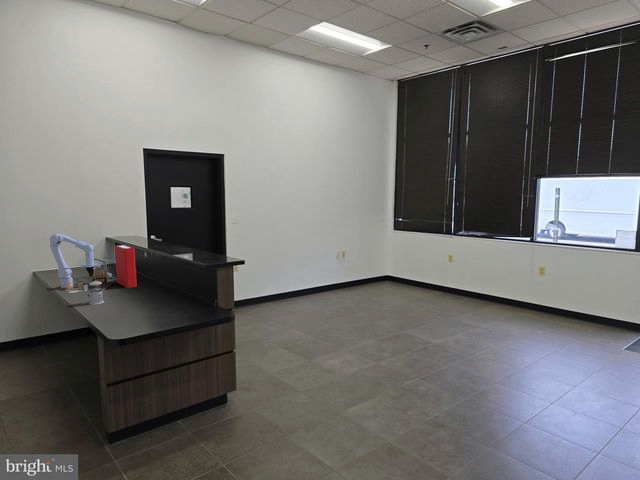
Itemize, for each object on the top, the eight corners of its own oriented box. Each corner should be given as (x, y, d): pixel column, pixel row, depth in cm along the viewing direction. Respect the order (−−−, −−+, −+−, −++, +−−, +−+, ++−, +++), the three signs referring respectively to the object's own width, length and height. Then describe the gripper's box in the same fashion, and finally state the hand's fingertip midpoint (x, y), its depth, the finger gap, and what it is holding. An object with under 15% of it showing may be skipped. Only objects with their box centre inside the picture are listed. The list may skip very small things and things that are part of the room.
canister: (68, 288, 330) (67, 283, 330) (74, 288, 331) (74, 283, 330) (65, 290, 326) (65, 284, 325) (71, 290, 326) (71, 284, 326)
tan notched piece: (67, 290, 331) (66, 283, 330) (83, 289, 332) (82, 282, 332) (63, 292, 325) (63, 284, 324) (80, 291, 327) (79, 284, 326)
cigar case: (92, 284, 350) (91, 270, 349) (92, 284, 352) (91, 270, 350) (106, 283, 356) (105, 269, 354) (106, 282, 357) (105, 268, 356)
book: (117, 282, 358) (114, 245, 354) (127, 281, 363) (124, 244, 359) (126, 288, 337) (124, 248, 333) (137, 286, 342) (134, 247, 338)
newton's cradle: (119, 280, 367) (117, 260, 365) (106, 282, 359) (105, 261, 357) (105, 275, 387) (104, 256, 385) (93, 277, 379) (91, 257, 377)
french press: (86, 305, 288) (83, 269, 285) (92, 300, 299) (89, 266, 296) (102, 304, 290) (99, 268, 287) (107, 299, 301) (104, 265, 298)
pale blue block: (71, 292, 324) (70, 285, 323) (88, 291, 325) (87, 284, 325) (67, 294, 318) (67, 286, 317) (84, 293, 320) (84, 286, 319)
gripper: (78, 260, 330) (79, 277, 332) (97, 260, 332) (98, 277, 334) (81, 259, 337) (83, 276, 339) (101, 258, 339) (102, 275, 341)
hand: (91, 276), depth 337 cm, fingers closed
